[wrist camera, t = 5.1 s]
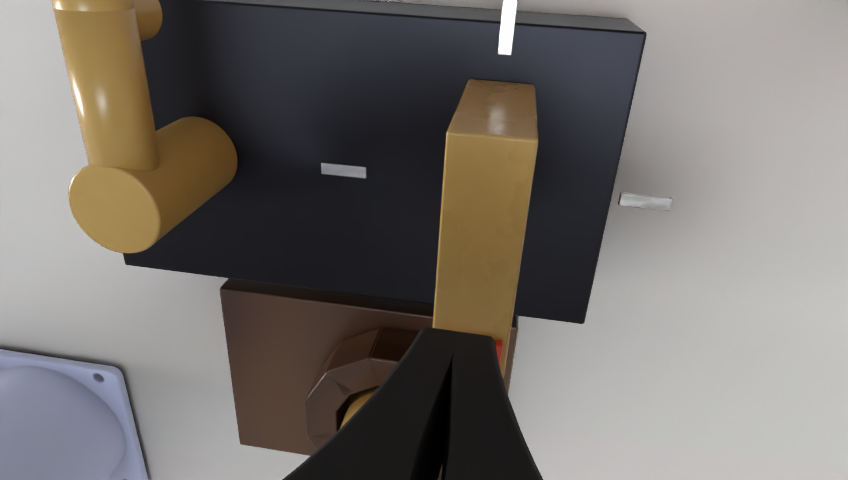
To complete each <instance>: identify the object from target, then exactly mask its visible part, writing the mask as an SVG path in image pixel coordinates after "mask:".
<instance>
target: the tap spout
mask: <svg viewBox="0 0 848 480" xmlns="http://www.w3.org/2000/svg"><path fill="white" fill-rule="evenodd" d="M52 3H53V10H54V15H55V19H56V23H57V28H58V32H59V36H60V41H61V45H62V49H63V54H64V58H65V63H66V67H67V71H68V76H69V80H70V84H71V89H72V93H73V98H74V102H75V106H76V111H77V115H78V119H79V124H80V128H81V133H82V137H83V141H84V146H85V150H86V154H87V159H88V163H89V165H88V166H86V167H84V168H82V169H81V170H79V171H78V172H77V173H76V174H75V176H74V177H73V179H72V181H71V183H70V186H69V192H68V198H69V205H70V208H71V211H72V214H73V216H74V218H75V220H76V221H77V223H78V224H79V226H80V227H81V228H82V230H83V231H84V232H85V233H86V234H87V235H88V236H89V237H90V238H91V239H93V240H94V241H95V242H97V243H98V244H100V245H101V246H103V247H105V248H107V249H110V250H112V251H116V252H120V253H137V252H141V251H144V250H146V249H148V248H149V247H151V246H152V245H153V244H154V243H156V242H157V241H158V240H159V239H161V238H162V237H163V236H164V235H166V234H167V233H168V232H169V231H170V230H172V229H173V228H174V227H175V226H177V225H178V224H179V223H180V222H182V221H183V220H184V219H185V218H187V217H188V216H189V215H190V214H192V213H193V212H194V211H195V210H197V209H198V208H199V207H200V206H201V205H203V204H204V203H205V202H206V201H208V200H209V199H210V198H211V197H213V196H214V195H215V194H216V193H218V192H219V191H220V190H221V189H223V188H224V187H225V186H226V185H227V184H229V183H230V182H231V180H232V179H233V177H234V176H235V173H236V170H237V153H236V150H235V147H234V145H233V143H232V141H231V139H230V138H229V136H228V135H227V134H226V133H225V131H224V130H223V129H221V128H220V127H219V126H218V125H216V124H215V123H213V122H211V121H209V120H207V119H204V118H200V117H184V118H181V119H179V120H177V121H175V122H173V123H171V124H169V125H167V126H165V127H163V128H161V129H159V130H157V131H156V130H155V124H154V118H153V112H152V106H151V100H150V94H149V89H148V83H147V77H146V71H145V65H144V59H143V53H142V47H141V41H144V40H147V39H150V38H152V37H153V36H155V35H156V34H157V32H158V31H159V29H160V27H161V24H162V9H161V6H160V3H159V1H158V0H52Z"/></svg>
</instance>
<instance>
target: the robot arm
mask: <svg viewBox="0 0 848 480" xmlns="http://www.w3.org/2000/svg"><path fill="white" fill-rule="evenodd" d="M441 467H442V475H441V480H543V479H542V476H541V474H540V472H539V470H538V468H537V466H536V464H535V462H534V460H533V457H532V455H531V453H530V451H529V449H528V446H527V444H526V442H525V439H524V437H523V435H522V432H521V430H520V427H519V425H518V422H517V419H516V417H515V414H514V411H513V408H512V406H511V403H510V400H509V397H508V394H507V391H506V388H505V385H504V381H503V377H502V374H501V370H500V366H499V361H498V356H497V349H496V341H495V340H494V339H493V338H492V337H491V336H488V335H480V334H473V333H466V332H459V331H452V330H444V329H437V328H430V327H425V328H423V329H422V330H420V331H419V333H418V334H417V336H416V338H415V339H414V341H413V343H412V344H411V346H410V347H409V349H408V350H407V351H406V353H405V354H404V356H403V357H402V358H401V360H400V361H399V362H398V364H397V365H396V366H395V368H394V369H393V370H392V372H391V373H390V374H389V375H388V376H387V378H386V379H385V380H384V381H383V382H382V384H381V385H380V386H379V387H378V388H377V390H376V391H375V392H374V393H373V394H372V395H371V397H370V398H369V399H368V400H367V401H366V402H365V403H364V404H363V405H362V406H361V407H360V408H359V410H358V411H357V412H356V413H355V414H354V415H353V416H352V417H351V418H350V419H349V420H348V421H347V422H346V423H345V424H344V425H343V426H342V427H341V428H340V429H339V430H338V431H337V432H336V433H335V434H334V435H333V436H332V437H331V438H330V439H329V440H328V441H327V442H326V443H325V444H324V445H323V446H321V447H320V448H319V449H318V450H317V451H316V452H315V453H314V454H313V455H311V456H310V457H309V458H308V459H307V460H306V461H305V462H303V463H302V464H301V465H300V466H299V467H298V468H296V469H295V470H294V471H293V472H291V473H290V474H289V475H288V476H286V477H285V478H284V479H283V480H438V479H439V475H440V471H441ZM0 480H148V476H147V472H146V468H145V464H144V460H143V456H142V452H141V448H140V443H139V439H138V435H137V431H136V427H135V423H134V419H133V415H132V410H131V406H130V402H129V398H128V394H127V390H126V386H125V382H124V378H123V375H122V372H121V371H120V370H119V369H117V368H116V367H113V366H107V365H101V364H94V363H87V362H81V361H74V360H68V359H61V358H54V357H48V356H41V355H35V354H28V353H22V352H15V351H8V350H2V349H0Z"/></svg>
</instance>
